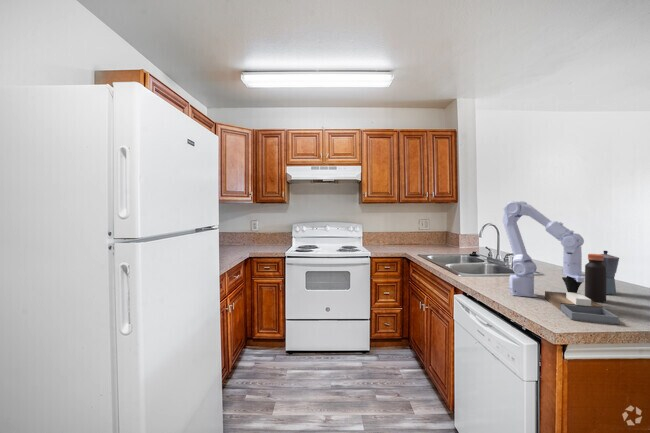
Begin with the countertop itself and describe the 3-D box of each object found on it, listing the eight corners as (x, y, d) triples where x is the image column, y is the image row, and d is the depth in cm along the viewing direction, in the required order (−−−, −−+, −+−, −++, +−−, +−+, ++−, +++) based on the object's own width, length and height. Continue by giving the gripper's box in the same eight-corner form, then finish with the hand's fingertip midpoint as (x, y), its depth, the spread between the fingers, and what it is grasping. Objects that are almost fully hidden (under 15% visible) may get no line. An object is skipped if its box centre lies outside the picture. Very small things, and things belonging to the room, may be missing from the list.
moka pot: (626, 293, 131) (627, 251, 131) (604, 297, 127) (604, 253, 126) (601, 288, 140) (601, 248, 140) (580, 291, 136) (580, 250, 135)
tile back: (571, 301, 113) (571, 295, 113) (566, 297, 117) (566, 292, 117) (585, 302, 111) (585, 296, 111) (579, 299, 115) (579, 293, 115)
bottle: (610, 303, 119) (611, 256, 118) (591, 302, 120) (592, 255, 120) (598, 298, 125) (599, 253, 125) (580, 297, 127) (581, 253, 126)
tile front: (576, 304, 109) (576, 298, 109) (571, 301, 113) (571, 295, 113) (591, 306, 107) (591, 299, 107) (585, 302, 111) (585, 296, 111)
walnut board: (560, 310, 111) (560, 302, 111) (544, 297, 127) (544, 291, 127) (602, 314, 106) (602, 306, 106) (581, 300, 122) (581, 294, 122)
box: (571, 319, 102) (571, 312, 102) (560, 310, 111) (560, 304, 111) (618, 324, 97) (618, 317, 97) (603, 314, 106) (603, 308, 106)
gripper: (593, 266, 109) (593, 301, 109) (576, 260, 122) (576, 291, 122) (571, 265, 111) (570, 299, 111) (556, 259, 125) (556, 290, 125)
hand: (572, 295), depth 117 cm, fingers closed
